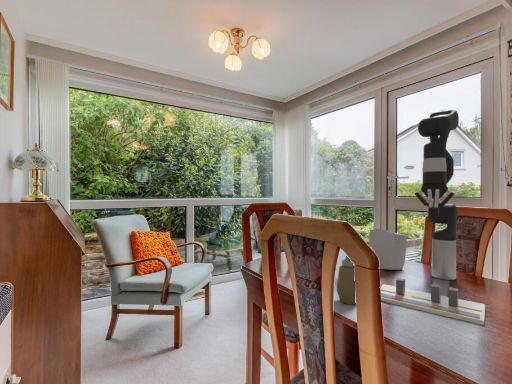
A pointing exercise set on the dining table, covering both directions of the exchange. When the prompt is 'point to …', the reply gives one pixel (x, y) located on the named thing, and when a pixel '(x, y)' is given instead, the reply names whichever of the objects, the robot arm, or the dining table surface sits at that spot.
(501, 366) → the dining table surface
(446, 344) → the dining table surface
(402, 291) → the slider
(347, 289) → the squeeze bottle
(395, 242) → the electrical switch box
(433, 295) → the slider middle
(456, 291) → the slider
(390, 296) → the switch panel
